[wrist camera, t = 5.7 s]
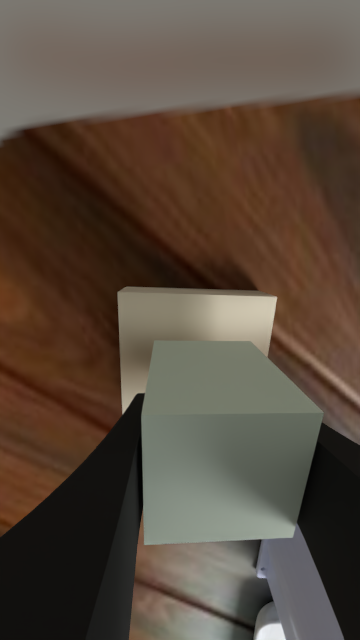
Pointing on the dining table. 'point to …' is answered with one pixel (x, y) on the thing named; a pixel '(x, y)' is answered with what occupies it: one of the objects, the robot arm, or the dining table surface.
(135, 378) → the birch base
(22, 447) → the dining table surface
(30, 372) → the dining table surface
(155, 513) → the sage block
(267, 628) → the salad plate
